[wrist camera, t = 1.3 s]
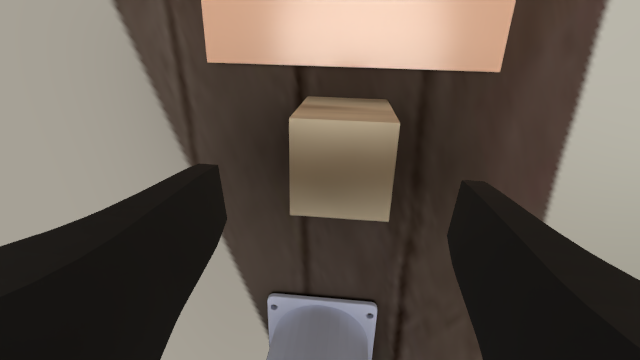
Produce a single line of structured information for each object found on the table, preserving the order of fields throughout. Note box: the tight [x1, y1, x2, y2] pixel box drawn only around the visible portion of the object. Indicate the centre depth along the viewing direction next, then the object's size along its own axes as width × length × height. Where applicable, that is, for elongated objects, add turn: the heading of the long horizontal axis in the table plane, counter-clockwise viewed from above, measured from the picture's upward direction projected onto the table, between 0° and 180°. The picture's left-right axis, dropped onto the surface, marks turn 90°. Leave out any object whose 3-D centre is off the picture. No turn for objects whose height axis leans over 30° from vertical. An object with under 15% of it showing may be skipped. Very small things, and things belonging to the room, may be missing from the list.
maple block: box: [289, 96, 400, 222], centre depth 17 cm, size 4×4×6 cm
